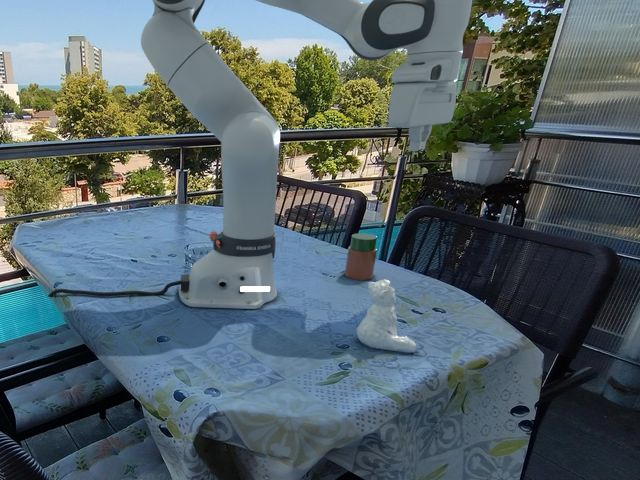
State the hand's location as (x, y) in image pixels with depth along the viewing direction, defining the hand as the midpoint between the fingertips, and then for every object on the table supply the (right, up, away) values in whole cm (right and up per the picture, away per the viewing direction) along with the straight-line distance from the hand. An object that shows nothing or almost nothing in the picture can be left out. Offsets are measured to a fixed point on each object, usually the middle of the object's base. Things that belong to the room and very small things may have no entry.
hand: (416, 150), depth 90 cm
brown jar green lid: (-1, -23, +25) cm, 34 cm away
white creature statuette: (-10, -37, -6) cm, 39 cm away
